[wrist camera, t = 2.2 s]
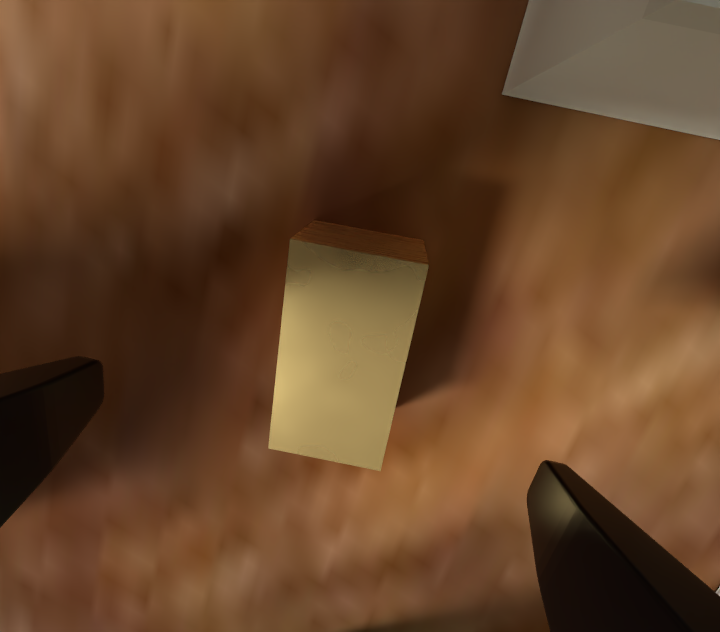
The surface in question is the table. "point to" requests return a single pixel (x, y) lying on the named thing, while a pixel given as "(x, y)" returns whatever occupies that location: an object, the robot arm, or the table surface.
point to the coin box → (623, 60)
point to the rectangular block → (344, 341)
